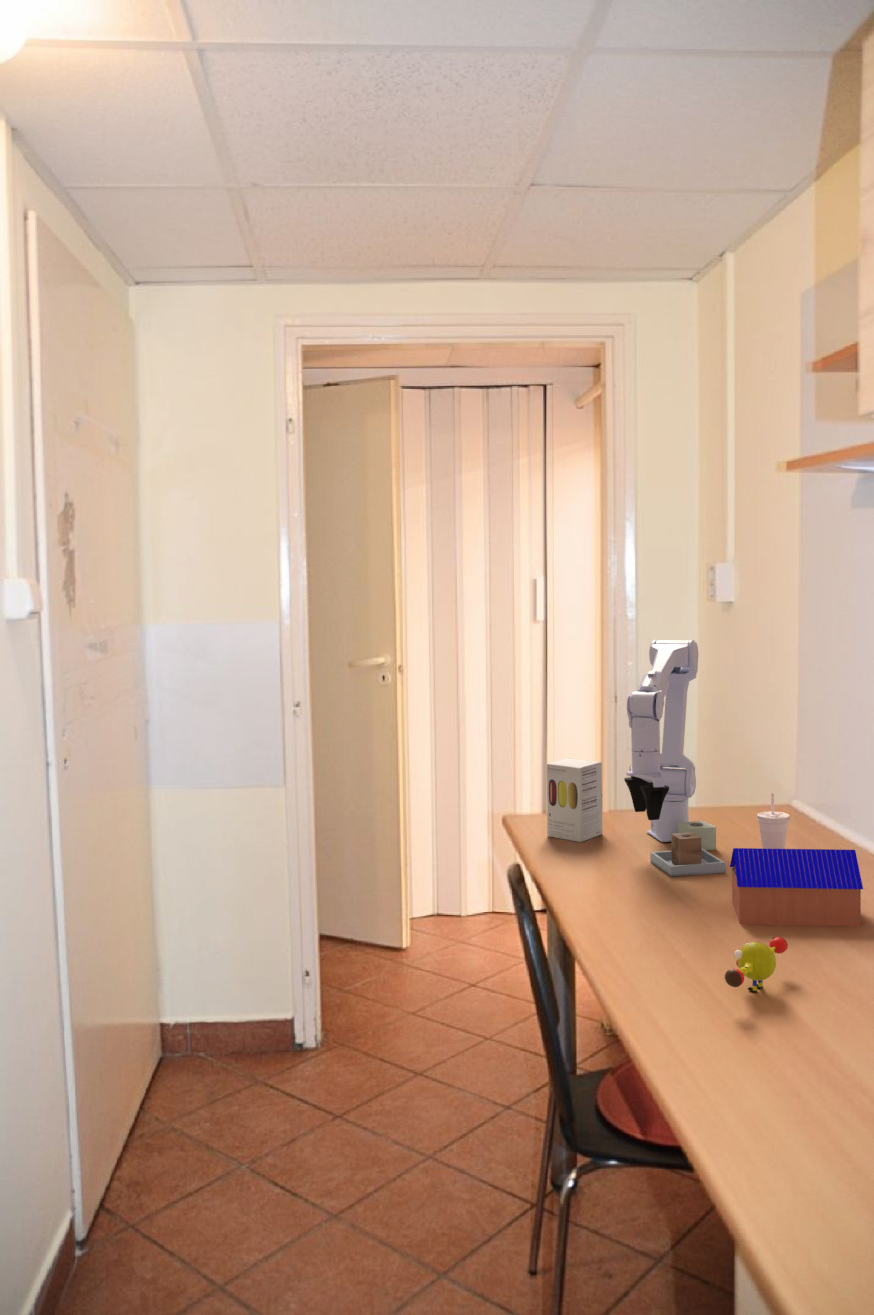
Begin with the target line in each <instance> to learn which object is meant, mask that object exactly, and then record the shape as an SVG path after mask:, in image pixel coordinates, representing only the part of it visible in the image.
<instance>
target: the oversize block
mask: <svg viewBox="0 0 874 1315" xmlns="http://www.w3.org/2000/svg"><path fill="white" fill-rule="evenodd" d="M689 832H693V833H695V834H696V835H698V836H700V837H701V845H702V849H704V850H706V851H715V850H717V826H715V825H713V824H711V823H709V822H708V821H705V820H693V821H689V822H680V823H678V833H689Z"/></svg>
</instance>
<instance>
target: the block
mask: <svg viewBox="0 0 874 1315" xmlns="http://www.w3.org/2000/svg"><path fill="white" fill-rule="evenodd" d="M670 845H671V846H670V848H671V851H672V863H673V864H674V865H675V866H676V865H688V864H701V863H702V845H701V837H700V836H698V835H696V834H695V833H693V832H689V833H675V834H671V844H670Z"/></svg>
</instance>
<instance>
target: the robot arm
mask: <svg viewBox="0 0 874 1315" xmlns="http://www.w3.org/2000/svg"><path fill="white" fill-rule="evenodd" d="M648 654H649V656H648V657H649V658H648V659H649V663H650V665H651V670H649V671H647V672H646V673H645V674H644V675H642V678H641V681H640V683H639V684H638V687H637V689H636V691H633V692H632V693H630V694H628V696H627V700H626V701H627V702H626V714H627V718H628V727H629V728H630V729H631V730H630V732H631V734H630V735H631V736H630V737H631V765H629V766H628V768H629V769H628V770H629V771H626V776H628V777H625V778H624V782H625V783H626V786H627V788H628V790H629V794H630V797H631V801H632V806H633V809H634V812H635V813H643V812H646V816H647V819H648V820H649V821H650V829H648V830H646V833H647V834H649V835H650V836H652V837H653V838H655V839H656V840H658V841H659V842H661V843H669V842H671V834H675V833H678V823H680V822H690V821H689V820H690V819H689V799H690V798H692V797H693V796H694V795H695V793H696V786H697V778H696V765H695V764H694V762H693V761H692V760H691V759H690V758H689V757H687V756H686V755H685V754H684V750H685V749H684V748H685V731H686V717H687V715H686V714H687V702H688V700H687V699H688V690H689V685H690V682H691V681H693V680H695V679H696V678H697V674H698V671H699V668H698V667H699V646H698V643H697V642H696V641H695V639H690V640H686V639H685V640H683V639H682V640H665V639H664V640H659V639H653V640H652V642H650V645H649V652H648ZM663 715H664V716H663ZM662 717H663V730H662V742H661V735H660V734H661V730H660V729H661V728H660V727H661V722H660V720H662ZM661 743H662V744H661ZM661 745H662V747H661Z"/></svg>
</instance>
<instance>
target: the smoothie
mask: <svg viewBox="0 0 874 1315" xmlns="http://www.w3.org/2000/svg"><path fill="white" fill-rule="evenodd" d="M756 815H757V816H756V820H757V821H758V825H759V826H758V827H759V834H760V842H761V849H786V842H787V834H788V826H789V822H790V821H791V819H790V814H789V813H787V812H781V811H775V793H774V792H771V793H770V810H769V811H761V812H757V814H756Z"/></svg>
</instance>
